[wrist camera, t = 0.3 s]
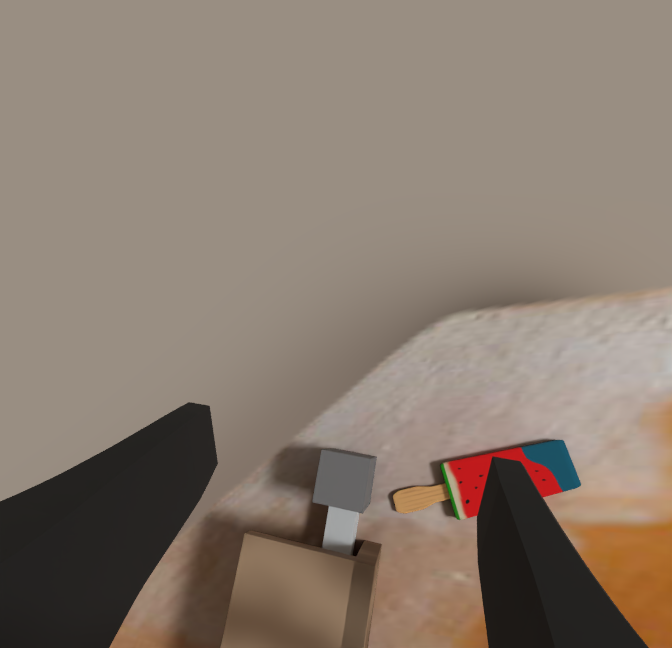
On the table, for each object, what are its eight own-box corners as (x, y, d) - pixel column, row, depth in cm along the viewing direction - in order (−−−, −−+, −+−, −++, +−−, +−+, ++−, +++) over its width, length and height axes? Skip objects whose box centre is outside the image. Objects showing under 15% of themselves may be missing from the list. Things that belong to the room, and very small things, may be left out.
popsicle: (387, 477, 36) (561, 434, 34) (388, 475, 37) (555, 434, 36) (402, 533, 34) (584, 491, 33) (402, 529, 36) (577, 489, 34)
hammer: (344, 681, 33) (331, 725, 28) (297, 666, 34) (275, 706, 29) (376, 456, 37) (370, 458, 32) (334, 448, 38) (321, 449, 33)
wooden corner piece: (357, 724, 32) (343, 792, 26) (239, 684, 34) (201, 738, 28) (381, 544, 35) (375, 566, 29) (272, 518, 37) (244, 533, 31)
